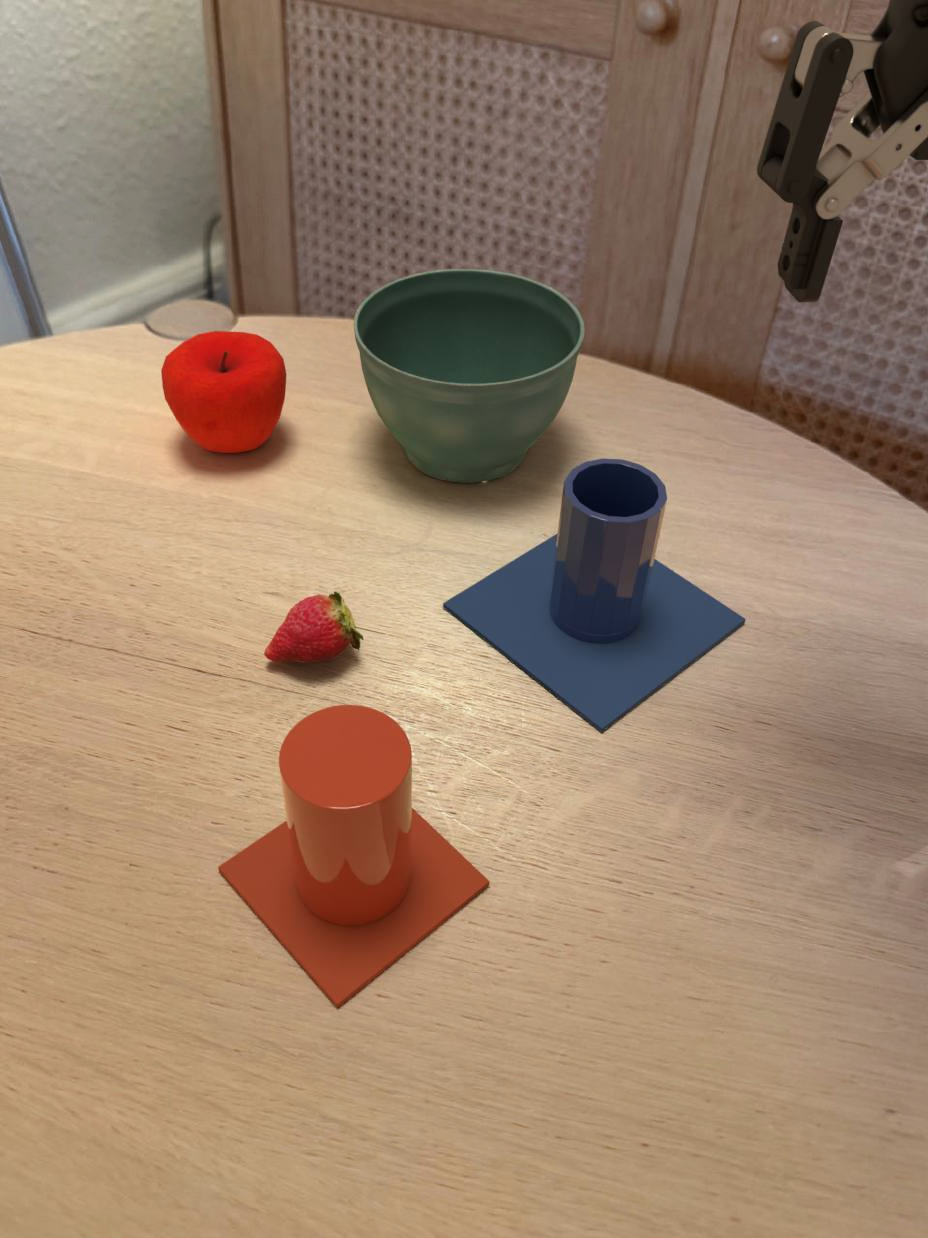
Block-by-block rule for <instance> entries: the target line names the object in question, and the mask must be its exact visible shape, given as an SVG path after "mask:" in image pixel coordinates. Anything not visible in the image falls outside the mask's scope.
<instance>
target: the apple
mask: <svg viewBox="0 0 928 1238" xmlns="http://www.w3.org/2000/svg"><path fill="white" fill-rule="evenodd" d="M160 373H161V384H162V392H163V396H164V400H165V402H166V404H167V405H168V407H169V409H170V411H171V413H172V414H173V416H174V418H175V420H176V421H177V423H178V424H179V426H180V427H181V428H182V430H183V431H184V432H185V433H186V434H187V435H188V437H189V438H190V439H191V440H192V441H193V442H195V444H197V445H198V446H199V447H201V448H202V449H204V450H207V451H208V452H214V453H222V454H223V453H224V454H235V453H236V454H237V453H244V452H249V451H253V450H255V449H257V448H259V447H260V446H262V445H263V444H264V443H265V442H266V441H267V440H268V439H269V438H270V437H271V435H272V433H273V432H274V430H275V428H276V426H277V424H278V423H279V420H280V418H281V416H282V412H283V407H284V404H285V398H286V391H287V390H286V389H287V377H288V376H287V369H286V364H285V360H284V357H283V356H282V354H281V353H280V351H278V348H276V346H275V345H274V344H273V343H272V341H269V340H268V339H266V338H264V337H262V336H261V335H259V334H256V333H250V332H245V331H227V330H226V331H225V330H212V331H207V332H202V333H197V334H196V335H194V336H191V337H190V338H188V339H186V340H184V341H183V342H181V343H180V344H179V345H178V346H176V347H175V348H174V349H173V350H172V351H170V352H169V353H168V354H167V355H166V356H165V358H164V360H163V364H162V367H161V370H160Z"/></svg>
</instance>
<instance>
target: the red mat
mask: <svg viewBox="0 0 928 1238" xmlns="http://www.w3.org/2000/svg"><path fill="white" fill-rule="evenodd" d="M217 868H218V872H219V873H220V874H221V875H222V877H223V878H224V879H225V880H226V881H227V882H228V884H229V885H230V886H231V887H232V888H233V889H234V890H235V892H236V893H237V894H238V895H239V896H240V897H241V899H243V901H244V902H245V903H246V904H247V906H248V907H249V908H250V909H251V910H252V911H253V912H254V914H255V915H256V916H257V917H258V918H259V919H260V921H261V922H262V923H263V924H264V925H265V926H266V928H268V930H269V931H270V932H271V934H273V935H274V937H275V938H276V939H277V940H278V941H279V942H280V944H281V945H282V946H283V947H284V948H285V949H286V951H287V952H288V953H289V954H290V955H291V956H292V958H293V959H294V960H295V961H296V962H297V964H298V965H299V966H300V967H301V968H302V969H303V970H304V971H305V972H306V974H307V975H308V976H309V977H310V978H311V979H312V981H313V982H314V983H315V984H316V985H317V987H318V988H319V989H320V990H321V991H322V992H323V994H325V996H326V997H327V998H328V999H329V1000H330V1002H332V1004H333V1005H334V1006H335V1007H336V1008H338V1009H339V1008H340V1007H341V1006H342V1005H343V1004H344V1003H346V1002H347V1001H348V1000H349V999H350V998H352V997H353V996H354V995H355V994H357V993H358V992H359V991H360V990H362V989H363V988H364V987H366V986H367V985H368V984H369V983H371V982H372V981H373V980H374V979H375V978H376V977H378V976H379V975H381V973H383V972H384V971H385V970H386V969H388V968H389V967H391V965H392V964H394V963H395V962H396V961H398V960H399V959H400V958H401V957H402V956H404V955H405V954H406V953H408V952H409V951H410V950H411V949H413V947H415V946H416V945H417V944H418V943H420V942H421V941H422V940H423V939H425V938H426V937H427V936H428V935H430V934H431V933H432V932H434V931H435V930H436V929H437V928H439V926H441V925H442V924H443V923H445V922H446V921H447V920H448V919H450V918H451V917H452V916H453V915H455V914H456V913H457V912H458V911H460V910H461V909H462V908H463V907H464V906H465V905H467V904H468V903H470V902H471V901H472V900H473V899H475V897H477V896H479V894H480V893H482V892H483V891H485V889H486V888H487V887H489V886H490V883H491V881H490V880H489V879H488V878H487V877H485V875H483V873H482V872H481V871H479V870H478V869H477V868H476V867H475V866H474V865H473V864H472V863H471V862H470V861H469V860H468V859H467V858H466V857H465V856H464V855H463V854H462V853H460V852H459V851H458V850H457V849H456V848H455V847H454V846H453V845H452V844H451V843H450V842H449V841H448V840H447V839H446V838H445V837H444V836H443V835H442V834H440V833H439V831H438V830H436V829H435V828H434V827H433V826H432V825H431V823H429V822H428V821H427V820H426V819H424V817H422V815H420V813H418V811H416V809H414V808H413V807H412V876H411V883H410V886H409V889H408V891H407V893H406V895H405V897H404V898H403V900H402V901H401V903H400V904H399V905H398V906H397V907H396V908H395V909H394V910H393V911H392V912H390V913H389V914H387V915H386V916H384V917H383V918H381V919H379V920H376V921H374V922H371V923H367V924H363V925H356V926H345V925H338V924H334V923H331V922H328V921H325V920H323V919H321V918H319V917H318V916H316V915H315V914H314V913H312V912H311V911H310V910H309V909H308V908H307V907H306V906H305V904H304V903H303V902H302V900H301V898H300V896H299V894H298V891H297V888H296V883H295V876H294V869H293V862H292V855H291V848H290V840H289V833H288V826H287V819H286V820H285V821H283V822H282V823H281V824H279V825H278V826H276V827H274V828H273V829H272V830H270V831H269V832H267V833H266V834H265V835H263V836H261V837H260V838H259V839H257V840H256V841H254V842H253V843H250V844H249V845H248V846H247V847H245V848H244V849H242V850H241V851H239V852H238V853H236V854H235V855H233V856H231V858H229V859H228V860H226V861H225V862H223V863H222V864H220V865H219V866H218V867H217Z"/></svg>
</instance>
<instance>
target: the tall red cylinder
mask: <svg viewBox="0 0 928 1238" xmlns="http://www.w3.org/2000/svg"><path fill="white" fill-rule="evenodd" d="M412 764H413V752H412V745H411V742H410V739H409V737H408V735H407V734H406V732H405V731H404V729H403V728H402V726H401V725H400V724H399V723H398V722H397V721H396V720H395V719H394V718H392V717H390V716H389V715H387V714H386V713H385V712H382V711H380V710H377V709H375V708H372V707H368V706H364V705H357V704H341V705H333V706H328V707H324V708H322V709H318V710H316V711H313V712H312V713H310V714H308V715H307V716H305V717H303V718H301V719H300V720H299V721H298V722H297V723H296V724H294V726H293V727H292V728H291V729H290V730H289V731H288V733H287V734H286V736H285V737H284V739H283V741H282V743H281V746H280V749H279V753H278V767H279V768H278V769H279V776H280V783H281V789H282V797H283V804H284V811H285V819H286V820H287V826H288V833H289V840H290V848H291V855H292V862H293V869H294V876H295V883H296V888H297V891H298V894H299V896H300V898H301V900H302V902H303V903H304V904H305V906H306V907H307V908H308V909H309V910H310V911H311V912H312V913H314V914H315V915H316V916H318V917H319V918H321V919H323V920H325V921H328V922H331V923H334V924H338V925H345V926H356V925H363V924H367V923H371V922H374V921H376V920H379V919H381V918H383V917H384V916H386V915H387V914H389V913H390V912H392V911H393V910H394V909H395V908H396V907H397V906H398V905H399V904H400V903H401V901H402V900H403V898H404V897H405V895H406V893H407V891H408V889H409V886H410V883H411V876H412V808H413V805H412V803H413V801H412V797H413V795H412V794H413V792H412V791H413V790H412V789H413V788H412V787H413V786H412V785H413V783H412V782H413V780H412V779H413V777H412V776H413V773H412V771H413V768H412V767H413V765H412Z"/></svg>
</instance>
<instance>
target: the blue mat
mask: <svg viewBox="0 0 928 1238" xmlns="http://www.w3.org/2000/svg"><path fill="white" fill-rule="evenodd" d="M557 534H558V532H557V533H556V534H554V535H552V536H550V537H549V538H548V539H546V540H544V541H543V542H541V543H539V544H537V545H536V546H534V547H532V548H531V549H529V550H527V551H526V552H525V553H523V554H521V555H519V556H518V557H517V558H514V559H513V560H512V561H510V562H509V563H507V564H505V565H504V566H502V567H500V568H498V569H497V570H495V571H494V572H491V573H490V574H489V575H487V576H485V577H484V578H482V579H480V580H479V581H477V582H476V583H474V584H472V585H470V586H469V587H467V588H465V589H464V590H462V591H461V592H459V593H458V594H456V595H454V596H452V597H451V598H449V599H447V600H446V601H444V602H443V603H442V608H443V609H445V610H446V612H449V614H451V615H452V616H454V617H455V618H456V619H457V620H458V621H460V622H461V623H462V624H463V625H464V626H466V627H467V628H468V629H469V630H471V631H472V632H474V633H475V635H477V636H478V637H480V638H481V639H482V640H484V641H485V642H486V643H488V644H489V645H490V646H491V647H492V648H494V649H495V650H496V651H498V652H499V653H500V654H501V655H503V656H504V657H505V658H506V659H507V660H508V661H510V662H512V663H513V664H514V665H515V666H516V667H518V668H519V669H521V671H523V672H524V673H526V675H528V676H529V677H531V678H532V679H533V680H534V681H535V682H537V683H538V684H539V685H541V686H542V687H543V688H544V689H546V691H548V692H549V693H550V694H551V695H553V696H554V697H556V699H558V700H560V701H561V702H562V703H563V704H564V705H565V706H567V707H568V708H569V709H571V710H572V711H573V712H575V713H576V714H577V715H579V716H580V717H581V718H582V719H583V720H585V721H586V722H587V723H589V724H590V725H591V726H592V727H593V728H595V729H596V730H597V731H599V732H600V733H603V732H604V731H606V730H607V729H608V728H610V727H611V726H612V725H614V724H615V723H616V722H618V721H619V720H620V719H622V718H623V717H624V716H625V715H626V714H628V713H629V712H630V711H631V710H634V708H636V707H637V706H638V705H640V704H641V703H642V702H643V701H645V700H646V699H647V698H649V696H652V695H653V694H654V693H656V691H658V690H659V689H660V688H662V687H663V686H664V685H666V684H667V683H668V682H670V681H671V680H672V679H674V678H675V677H676V676H677V675H679V674H680V673H682V671H684V670H685V669H686V668H688V667H689V666H690V665H692V664H693V663H694V662H696V661H697V660H699V659H700V658H701V657H702V656H703V655H705V654H706V653H708V652H709V651H710V650H711V649H712V648H714V647H715V646H717V645H718V644H719V643H721V642H722V641H723V640H725V639H726V638H727V637H728V636H730V635H731V634H732V633H734V632H735V631H736V630H738V629H739V628H740V627H741V626H742V625H744V624H745V623H746V621H747V619H746V618H745V617H744V616H742V615H741V614H739V613H738V612H736V611H734V610H733V609H731V608H730V607H728V606H727V605H725V604H724V603H722V602H721V601H720V600H719V599H717V598H715V597H713V596H712V595H711V594H709V593H708V592H706V591H704V589H701V588H699V587H698V586H697V585H695V584H693V583H692V582H691V581H689V580H687V578H685V577H683V576H682V575H680V574H678V573H677V572H676V571H674V570H672V569H671V568H669V567H668V566H666V565H665V564H663V563H662V562H661V561H659V560H657V559H656V558H654V563H653V568H652V572H651V577H650V582H649V586H648V591H647V596H646V600H645V605H644V610H643V612H642V615H641V620H640V623H639V625H638V627H637V628H636V629H635V630H634V632H633V633H631V634H630V635H629V636H627V637H625V638H623V639H621V640H618V641H615V642H610V643H591V642H586V641H582V640H579V639H576V638H574V637H572V636H570V635H568V634H567V633H565V632H564V631H562V630H561V629H560V628H559V627H558V626H557V625H556V624H555V622H554V621H553V619H552V617H551V614H550V610H549V603H550V590H551V582H552V574H553V566H554V558H555V550H556V542H557Z"/></svg>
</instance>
